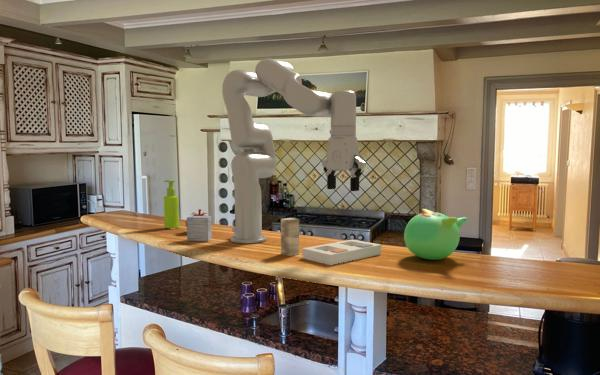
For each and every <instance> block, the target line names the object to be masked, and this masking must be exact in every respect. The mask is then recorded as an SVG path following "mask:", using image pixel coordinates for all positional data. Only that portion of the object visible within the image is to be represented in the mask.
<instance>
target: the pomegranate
mask: <svg viewBox="0 0 600 375" xmlns="http://www.w3.org/2000/svg"><path fill="white" fill-rule="evenodd" d="M201 212H202V209H201V208H200V209H198V214H197V213H196V211H195V212H192V213H191V214H190V216H206V215H207V214H208V212H202V213H201ZM184 223H185V227H186V228H187V219H186V220H185V222H184ZM211 226H212V223H211Z"/></svg>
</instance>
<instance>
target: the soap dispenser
mask: <svg viewBox="0 0 600 375" xmlns="http://www.w3.org/2000/svg"><path fill="white" fill-rule="evenodd" d="M163 182H164V183H168V187H167V188H166V196H163V216H164V220H163V222H164V229H165V228H177V229H180V211H179V209H180V208H179V207H180V206H179V202H180V201H179V199H180V198H179V196H178V195H176V188H175V187H174V183H175V180H173V179H167V180H164V181H163Z"/></svg>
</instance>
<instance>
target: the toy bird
mask: <svg viewBox="0 0 600 375" xmlns="http://www.w3.org/2000/svg"><path fill="white" fill-rule="evenodd" d="M421 210H422V213H421V212H420V213H419V214H416V215H415V216H413V217H412V218H411V219H410V220H409V221H408V223H407V224H406V226H405V228H404V233H403V240H404V244H405V246H406V248H407V249H408V250H409V251H410V252H411V253H412V254H413V255H414V256H417V257H418V258H422V259H423V260H432V261H433V260H434V261H435V260H442V259H445V258H448V257H449V256H451V255H452V254H453V253H454V252H455V251H456V249H457V247H458V246H459V243H460V237H461V236H460V235H461V234H460V228H462V227H463V226H464V225H465V224H466V223H467V222H468V220H469V218H468V217H466V216H463V217H456V216H448V215H446V214H443V213H441V212H439V211H433V210H430V209H426V208H422V209H421Z"/></svg>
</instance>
